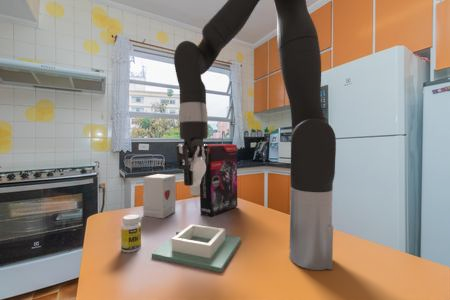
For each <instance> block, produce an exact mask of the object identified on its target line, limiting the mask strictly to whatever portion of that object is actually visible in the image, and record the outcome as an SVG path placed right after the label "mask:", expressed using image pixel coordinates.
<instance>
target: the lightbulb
mask: <svg viewBox="0 0 450 300" xmlns="http://www.w3.org/2000/svg"><path fill="white" fill-rule="evenodd" d="M188 159H189V158H188ZM189 165H190V163H189ZM192 171H193V185H191V186H189V189H190V190H189V192H190V193H189V194H190V195H191V197H195V198H196V197H198V196H200V184H201V180H202V177H203V176H204V174H205V172H206V163H205V161H204V160H203V159H202V158H200V157H197V159H196V162H195V163H194V165H193V170H192ZM182 172H183V173H184V171H183V170H182Z"/></svg>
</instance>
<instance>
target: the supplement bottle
mask: <svg viewBox="0 0 450 300" xmlns="http://www.w3.org/2000/svg"><path fill="white" fill-rule="evenodd" d="M120 229H121V230H120V232H121V235H120V236H121V241H120V243H121V244H120V248H121V251H122V252H124V253H134V252H136V251H138V250H139V249H140V248H141V247H142V224H141V222H140V215H139V214H127V215H125V216H123V217H122V224H121V228H120Z"/></svg>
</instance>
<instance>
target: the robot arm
mask: <svg viewBox="0 0 450 300" xmlns="http://www.w3.org/2000/svg"><path fill="white" fill-rule="evenodd" d="M260 1H261V0H227V1H226V2H225V3H224V4H223V5H222V7H221V8H220V9H218V11H217V12H216V13H215V14H214V15H213V16H212V17H211V19H209V20H208V22H206V24H205V25H204V26H203V27H202V30H201V35H202V39H201V41H200V42H199V44H198V45H197V44H196V43H195V42H193V41H191V40H184V41H181V42H180V43H178V45H177V46H176V48H175V50H174V53H173V55H174V56H173V62H174V63H173V64H174V69H175V70H174V71H175V74H176V79H177V83H178V86H179V111H178V115H179V116H178V119H179V121H178V122H179V125H178V126H179V139H181V140H183V145H182V144H181V145H180V144H177V145H176V157H177V168H178V170H182V172H183V171H184V172H183V184H184V186H186V187H187V186H188V187H190V186H191V185H193V171H192V170H193V165H194V163H195V162H196V159H197V157H200V158H202V159H203V160H204V161H205V163H206V165H208V156H209V145H204V140H206V139H208V138H209V131H208V127H209V126H208V125H209V124H208V109H207V93H206V92H207V91H206V86H205V84H204V82H203V80H202V75H204V74H205V73H206V72H207V71H208V70H209V69H210V68H211V67H212V65H213V64H214V62H215V61H216V60H217V58H218V56H220V53H221V51H222V50H223V49H224V48H225V47H226V46H227V45H228V44H229V43H230V42H231V41H233V39H234V38H235V37H236V36H237V35H238V34H240V33H239V32H241V30H242V29H243V28H244V26H245V25H246V24H247V22H248V21H249V18H250V17H251V15H252V14H253V12H254V10H255V8H256V7H257V5H258V4H259V2H260ZM273 2H274V8H275V12H276V23H277V24H276V26H277V27H276V39H277V41H276V43H277V51H278V58H279V59H278V60H279V65H280V71H281V74H282V80H283V83H284V88H285V91H286V95H287V98H288V102H289V107H290V118H291V138H290V173H289V174H290V176H289V177H290V187H289V188H290V190H289V191H290V193H289V195H290V198H289V199H290V201H289V203H290V204H289V207H290V208H289V247H288V249H289V253H288V254H289V256H288V257H289V258H290V260H291V262H292V263H294V264H295V265H297V266H298V267H300V268H303V269H306V270H311V271H325V270H333V259H334V258H333V256H334V255H333V254H334V253H333V252H334V248H333V247H334V226H333V223H332V222H333V190H334V189H333V186H334V185H333V183H334V179H335V174H336V171H335V170H336V153H337V151H336V150H337V149H336V148H337V139H336V134H335V131H334V129H333V127H332V126H331V125H330V124H329V123H328V122H326V120H325V116H324V112H323V107H322V100H321V99H322V98H321V97H322V96H321V90H322V89H321V88H322V57H321V48H320V41H319V36H318V32H317V29H316V26H315V23H314V21H313V19H312V17H311V15H310V13H309V9H308V6H307V0H273ZM188 158H189V159H188ZM189 163H190V165H189ZM204 180H205V174H204V176H203V177H202V180H201V181H204Z"/></svg>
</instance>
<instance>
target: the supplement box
mask: <svg viewBox="0 0 450 300" xmlns="http://www.w3.org/2000/svg"><path fill="white" fill-rule="evenodd" d="M142 180H143V184H142V185H143V194H142V195H143V198H142V200H143V202H142V204H143V207H142V208H143V209H142V210H143V211H142V213H143V214H142V215H143V216H144V217H150V218H156V219H165V218H166V217H168V216H170V215H171V214H174V213H176V174H162V173H156V174H151V175H146V176H143V179H142Z"/></svg>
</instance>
